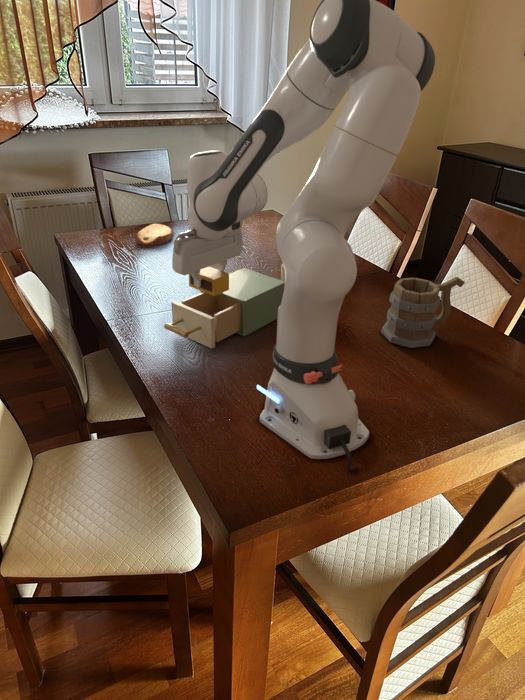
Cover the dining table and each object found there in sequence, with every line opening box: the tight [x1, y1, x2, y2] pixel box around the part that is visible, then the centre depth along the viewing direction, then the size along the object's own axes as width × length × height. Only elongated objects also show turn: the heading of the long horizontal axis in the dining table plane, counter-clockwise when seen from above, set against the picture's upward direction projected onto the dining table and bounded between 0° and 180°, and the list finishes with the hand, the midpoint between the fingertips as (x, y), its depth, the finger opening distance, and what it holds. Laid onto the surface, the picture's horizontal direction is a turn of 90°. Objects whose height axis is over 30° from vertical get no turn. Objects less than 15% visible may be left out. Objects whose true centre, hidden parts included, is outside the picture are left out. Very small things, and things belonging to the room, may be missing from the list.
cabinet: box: [201, 267, 285, 337], centre depth 140 cm, size 17×15×10 cm
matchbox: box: [188, 267, 230, 296], centre depth 126 cm, size 8×6×4 cm, turn 50°
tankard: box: [380, 276, 466, 349], centre depth 133 cm, size 20×13×15 cm, turn 105°
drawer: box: [163, 291, 242, 349], centre depth 130 cm, size 21×14×8 cm, turn 141°
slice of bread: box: [135, 223, 173, 248], centre depth 197 cm, size 18×18×4 cm
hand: (209, 281), depth 127 cm, fingers closed on matchbox, 5 cm apart
